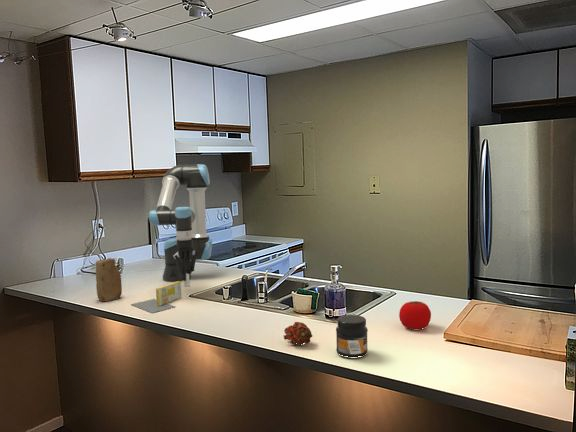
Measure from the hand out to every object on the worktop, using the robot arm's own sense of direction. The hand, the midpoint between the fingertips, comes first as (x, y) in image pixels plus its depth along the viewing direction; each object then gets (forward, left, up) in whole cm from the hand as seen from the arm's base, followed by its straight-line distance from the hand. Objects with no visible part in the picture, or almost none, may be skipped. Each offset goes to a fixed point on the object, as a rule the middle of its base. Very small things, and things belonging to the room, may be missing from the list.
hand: (186, 286), depth 239 cm
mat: (+18, 0, -6) cm, 19 cm away
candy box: (+10, 0, -5) cm, 11 cm away
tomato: (-35, +105, -6) cm, 111 cm away
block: (+27, -27, -6) cm, 39 cm away
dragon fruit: (+7, +83, -6) cm, 83 cm away
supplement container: (+1, +103, -6) cm, 103 cm away
